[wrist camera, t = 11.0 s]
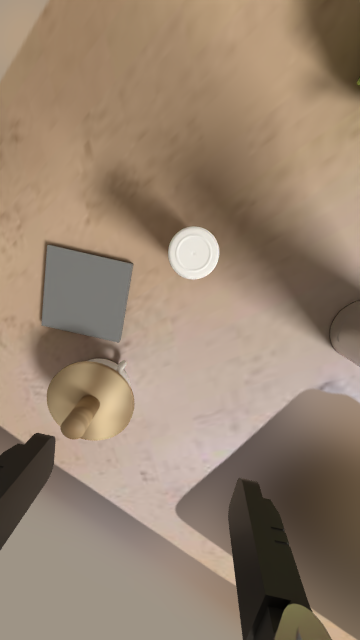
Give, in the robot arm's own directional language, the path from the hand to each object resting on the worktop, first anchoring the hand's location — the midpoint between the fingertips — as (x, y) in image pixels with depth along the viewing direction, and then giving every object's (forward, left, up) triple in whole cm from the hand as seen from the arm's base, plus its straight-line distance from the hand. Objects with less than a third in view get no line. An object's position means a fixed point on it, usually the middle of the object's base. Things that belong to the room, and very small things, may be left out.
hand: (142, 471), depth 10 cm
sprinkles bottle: (0, -10, -27) cm, 28 cm away
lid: (+9, +13, -21) cm, 26 cm away
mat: (+14, -1, -27) cm, 30 cm away
